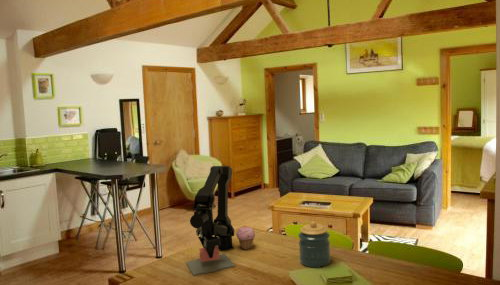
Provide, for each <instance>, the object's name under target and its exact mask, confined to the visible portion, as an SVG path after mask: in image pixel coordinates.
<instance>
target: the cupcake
mask: <svg viewBox="0 0 500 285" xmlns="http://www.w3.org/2000/svg"><path fill="white" fill-rule="evenodd" d="M255 236H256V233H255V230H254V229H253V227H251V226H243V227H239V228H238V230H237V231H236V238H237V239H238V240H239V245H240V248H242V249H243V250H248V249H251V248H252V247H253V244H254V239H255Z"/></svg>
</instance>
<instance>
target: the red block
mask: <svg viewBox="0 0 500 285" xmlns="http://www.w3.org/2000/svg"><path fill="white" fill-rule="evenodd" d="M219 255H220V249H219V248H218V246H215V248H214V253H213V257H212V258H210V257H209V255H208V253H207V251H206V249H205V248H203V247H202V248H199V259H200V260H201V262H204V261H211V260H218V259H219Z"/></svg>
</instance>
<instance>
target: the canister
mask: <svg viewBox="0 0 500 285" xmlns="http://www.w3.org/2000/svg"><path fill="white" fill-rule="evenodd" d="M299 231H300V232H299V233H298V235H297V236H298V237H299V241H298V245H299V262H300V264H301V265H303V266H305V267H309V268H320V267H319V266H323V267H326V266H328V265H329V264H330V263H331V258H332V256H331V248H330V247H331V245H330V244H331V242H330V240H329V239H330V233H329V232H328V228H327V227H326V226H324V225H323V224H320V223H317V222H316V221H315V220H314V221H313V220H312V221H311V222H310V223H308V224H304V226H302V227H301V228H300V230H299ZM325 265H326V266H325Z"/></svg>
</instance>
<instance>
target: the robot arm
mask: <svg viewBox="0 0 500 285" xmlns="http://www.w3.org/2000/svg"><path fill="white" fill-rule="evenodd" d="M232 175H233V168H232V167H231V166H230V165H213V166H210V169H209V174H208V175H207V178H206V181H205V182H204V185H203V186H202V187H201V188H199V189H198V191H197V192H196V194H195V197H194V200H193V201H194V202H193V206H192V211H194V212H193V215H191V217H190V219H189V222H190V223H189V224H190V225H191V227H193V228H194V229H196V230H195V235H196V236H197V237H198V240H199V242H200V244H201V246H202V248H205V249H206V251H207V253H208V255H209V257H210V258H212V257H213V253H214V248H215V246H218V249H219V251H222V252H223V251H227V250H228V251H229V250H231V249H235V248H234V245H233V237H235V229H234V227H233V224H232V221H231V218H230V217H229V215H228V209H229V208H228V207H229V204H228V201H229V200H228V199H229V197H228V196H229V191H228V190H229V187H228V186H229V183H230V181H231V180H232ZM216 187H217V215H216V217H215V218H214V214H213V208H214V204H215V200H216V197H215V193H214V192H215V190H216Z"/></svg>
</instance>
